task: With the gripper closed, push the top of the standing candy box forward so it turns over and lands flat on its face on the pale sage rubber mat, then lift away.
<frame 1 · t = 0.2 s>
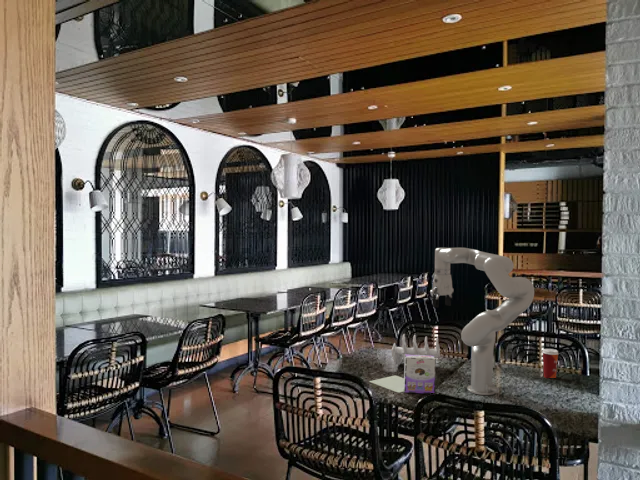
hand: (441, 306, 246), 37 cm above the table, tool pointing down, fingers open, 9 cm apart
mat: (396, 384, 237), on the table
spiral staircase: (415, 367, 267), on the table
paper cup: (549, 377, 251), on the table
candy box: (418, 391, 226), on the table, touching mat
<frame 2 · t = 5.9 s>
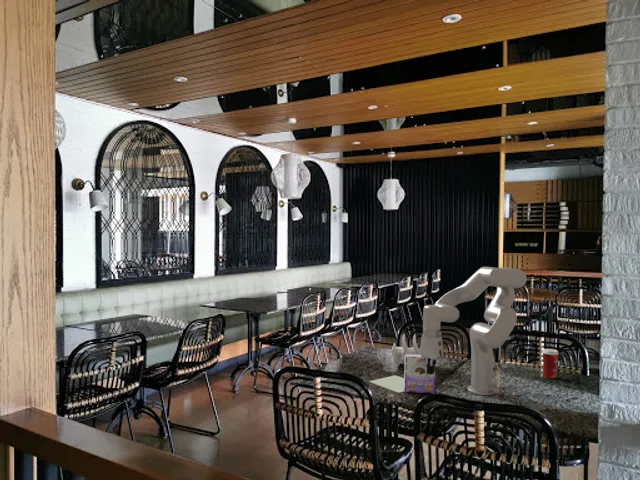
hand: (430, 373, 220), 10 cm above the table, tool pointing down, fingers closed
candy box: (418, 391, 226), on the table, touching gripper, mat
everything else where it was.
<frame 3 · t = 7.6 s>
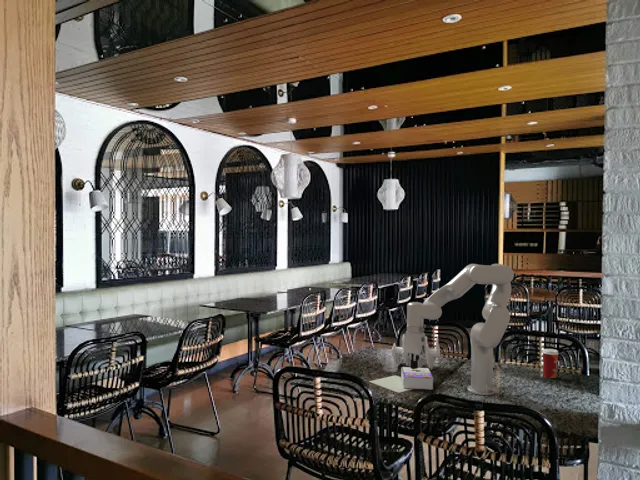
hand: (414, 368, 228), 10 cm above the table, tool pointing down, fingers closed
candy box: (418, 383, 228), point 3 cm above the table, touching mat
everything else where it was.
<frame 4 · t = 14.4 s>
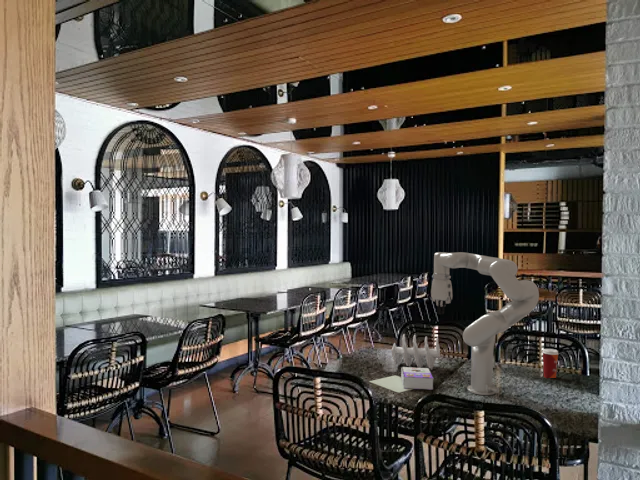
hand: (440, 314, 243), 33 cm above the table, tool pointing down, fingers closed
nothing on the table moved.
at the end: candy box tilted 89°; candy box touching mat; the gripper is holding nothing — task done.
